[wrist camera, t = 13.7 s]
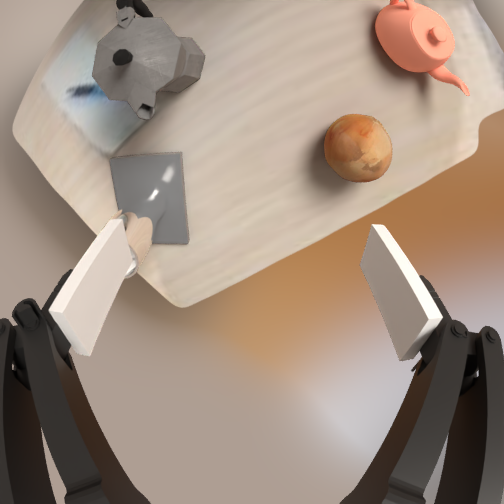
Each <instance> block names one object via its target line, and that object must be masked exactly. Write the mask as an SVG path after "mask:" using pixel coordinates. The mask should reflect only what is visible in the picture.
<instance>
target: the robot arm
mask: <svg viewBox="0 0 504 504" xmlns="http://www.w3.org/2000/svg"><path fill="white" fill-rule="evenodd" d="M132 261H133V260H132V256H131V252H130V248H129V245H128V241H127V236H126V232H125V228H124V224H123V219H110V220H109V222H108V223H107V224H106V226H105V227H104V228H103V229H102V231H101V232H100V233H99V235H98V236H97V237H96V239H95V240H94V241H93V243H92V244H91V246H90V247H89V248H88V250H87V251H86V253H85V254H84V255H83V257H82V258H81V260H80V261H79V263H78V264H77V266H76V267H75V269H74V270H72V269H70V270H69V271H68V272H67V273H66V274H64V275H63V276H62V278H61V279H60V281H59V282H58V285H57V286H56V287H55V289H54V292H52V293H51V295H50V297H49V298H48V300H47V302H46V303H45V305H44V307H43V308H42V310H40V308H39V306H38V305H37V303H36V301H35V300H33V299H31V298H28V299H24V300H22V301H21V302H20V303H18V304H17V306H15V308H14V310H13V312H12V317H13V318H14V320H15V321H16V323H17V324H18V325H17V326H13V325H12V324H11V323H10V321H9V320H8V319H6V318H2V319H0V504H56V501H55V497H54V494H53V490H52V486H51V482H50V478H49V473H48V469H47V464H46V459H45V453H44V447H43V440H42V432H41V427H42V430H43V433H44V436H45V439H46V442H47V445H48V448H49V450H50V453H51V455H52V458H53V460H54V462H55V465H56V467H57V470H58V472H59V474H60V476H61V478H62V480H63V483H64V485H65V487H66V490H67V493H66V495H65V497H64V499H65V504H151V503H150V502H149V501H148V499H147V498H146V497H145V496H144V495H143V494H141V493H140V492H139V491H138V490H137V489H136V488H135V487H134V485H133V484H132V482H131V481H130V479H129V478H128V476H127V474H126V473H125V471H124V470H123V468H122V466H121V465H120V463H119V461H118V460H117V458H116V456H115V455H114V453H113V451H112V449H111V448H110V446H109V444H108V442H107V440H106V438H105V436H104V434H103V432H102V430H101V428H100V426H99V424H98V422H97V420H96V418H95V416H94V413H93V412H92V409H91V407H90V404H89V402H88V400H87V397H86V395H85V393H84V390H83V387H82V385H81V382H80V380H79V377H78V374H77V371H76V369H75V366H74V363H73V360H72V357H71V355H70V353H69V352H68V351H69V349H70V347H71V346H72V347H73V349H74V350H75V352H76V353H78V354H82V355H87V356H91V353H92V351H93V348H94V345H95V343H96V340H97V338H98V335H99V333H100V331H101V328H102V326H103V323H104V321H105V319H106V316H107V314H108V312H109V309H110V307H111V305H112V303H113V301H114V299H115V296H116V294H117V292H118V290H119V288H120V286H121V284H122V281H123V280H124V277H125V275H126V273H127V271H128V269H129V267H130V265H131V263H132ZM360 267H361V269H362V271H363V274H364V276H365V278H366V280H367V282H368V284H369V286H370V289H371V291H372V293H373V296H374V298H375V300H376V303H377V305H378V307H379V309H380V312H381V314H382V317H383V319H384V321H385V324H386V326H387V329H388V331H389V334H390V337H391V339H392V342H393V345H394V347H395V350H396V352H397V355H398V358H399V361H404V360H410V359H413V358H414V357H415V356H416V355H417V353H418V352H419V351H420V353H421V355H422V358H421V359H420V360H419V362H418V363H417V364H416V365H415V366H414V367H413V369H412V370H411V371H414V370H415V369H416V371H415V373H414V376H413V379H412V381H411V384H410V386H409V389H408V391H407V394H406V396H405V398H404V401H403V403H402V405H401V407H400V410H399V412H398V414H397V416H396V418H395V420H394V422H393V424H392V426H391V428H390V430H389V432H388V434H387V436H386V438H385V440H384V442H383V443H382V445H381V447H380V449H379V451H378V452H377V454H376V456H375V458H374V459H373V461H372V463H371V464H370V466H369V468H368V469H367V471H366V472H365V474H364V475H363V477H362V479H361V480H360V482H359V483H358V485H357V486H356V487H355V489H354V490H353V491H352V492H351V493H350V494H349V495H348V496H346V497H345V498H344V499H343V500H342V501H341V502H340V504H425V502H426V500H425V499H424V497H423V493H424V490H425V488H426V486H427V484H428V482H429V480H430V477H431V475H432V473H433V471H434V468H435V466H436V464H437V461H438V459H439V456H440V454H441V451H442V449H443V446H444V443H445V441H446V438H447V435H448V442H447V448H446V454H445V460H444V465H443V470H442V475H441V480H440V484H439V488H438V492H437V496H436V499H435V503H434V504H500V503H501V499H502V493H503V488H504V355H503V349H502V344H501V339H500V337H499V334H498V333H497V331H495V329H493V328H492V327H490V326H485V327H483V328H482V329H481V331H480V332H479V333H473V332H468V329H467V328H466V327H465V325H464V324H462V323H461V322H459V321H457V320H452V319H451V317H450V315H449V313H448V312H447V310H446V308H445V306H444V305H443V303H442V301H441V300H440V298H439V296H438V295H437V293H436V292H435V290H434V288H433V286H432V285H431V283H430V282H429V281H428V280H427V279H426V278H425V277H424V276H422V275H420V276H418V274H417V272H416V271H415V269H414V268H413V266H412V265H411V263H410V262H409V261H408V259H407V257H406V256H405V254H404V253H403V251H402V250H401V248H400V247H399V245H398V244H397V243H396V241H395V240H394V239H393V237H392V236H391V234H390V233H389V231H388V230H387V229H386V227H385V226H384V225H374V224H372V225H371V229H370V233H369V236H368V240H367V243H366V246H365V250H364V253H363V256H362V259H361V263H360ZM12 364H13V365H14V370H12ZM478 370H479V376H478V377H477V373H476V372H477V371H478ZM448 432H449V433H448Z"/></svg>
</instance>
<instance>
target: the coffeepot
mask: <svg viewBox="0 0 504 504" xmlns="http://www.w3.org/2000/svg"><path fill="white" fill-rule="evenodd" d="M116 4H117V7H118V9H119V10H120V11H118V12H116V13H117V20H118V25H117V26H116V27H115V28H114V29H113V30H111V31H110V32H109V33H108V34H107V35H106V36H105V37H104V38H103V39H101V40H100V41H99V42H98V46H97V50H96V55H95V61H94V66H93V72H92V77H93V78H94V79H95V81H96V82H97V83H98V85H99V86H100V88H101V89H102V90H103V92H104V93H105V94H106V96H107V97H108V98H109V100H118V101H128V103H129V104H130V106H131V107H132V109H133V110H134V112H135V113H136V114H137V116H138V117H139V118H141V119H144V120H148V119H151V118H152V117H153V115H154V113H155V100H156V93H157V92H158V91H160V90H161V91H171V92H181V91H182V90H184V89H185V88H187V87H188V86H190V85H191V84H192V83H194V82H195V81H197V80H198V79H200V76H201V72H202V69H203V64H204V60H205V54H204V53H203V52H202V50H201V49H200V48H199V46H198V45H197V44H196V42H195V41H194V40H193V39H192V38H186V37H176V35H175V34H174V33H173V31H172V30H171V29H170V28H169V26H168V25H167V24H166V23H165V21H164V20H163V19H162V18H157V17H153V14H152V13H151V12H150V11H149V9H148V7H147V6H146V5H145V4H144V3H143V2H142V0H117V1H116ZM134 10H135V11H134ZM135 12H136V13H137V14H138V15H140V16H142V17H143V18H135Z"/></svg>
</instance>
